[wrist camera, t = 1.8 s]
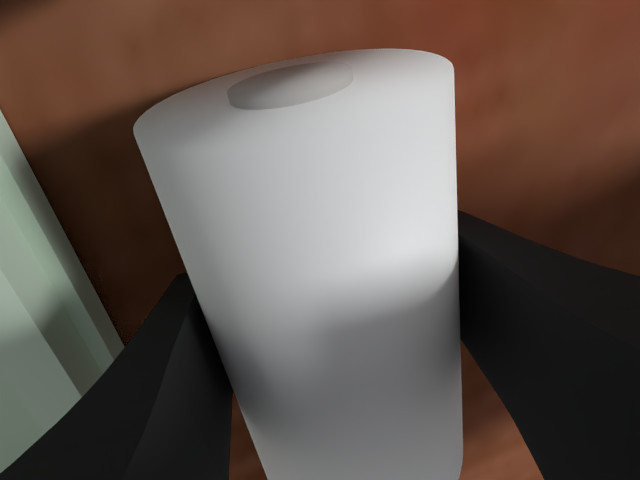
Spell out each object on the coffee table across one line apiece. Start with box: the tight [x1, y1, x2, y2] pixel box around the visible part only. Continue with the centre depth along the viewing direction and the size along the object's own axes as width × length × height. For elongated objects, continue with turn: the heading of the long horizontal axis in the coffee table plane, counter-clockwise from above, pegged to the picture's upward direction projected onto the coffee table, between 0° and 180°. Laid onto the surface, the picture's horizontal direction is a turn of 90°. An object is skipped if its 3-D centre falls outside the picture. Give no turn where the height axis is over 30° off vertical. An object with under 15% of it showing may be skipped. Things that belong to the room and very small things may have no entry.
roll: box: [133, 49, 463, 480], centre depth 10 cm, size 9×5×5 cm, turn 10°
